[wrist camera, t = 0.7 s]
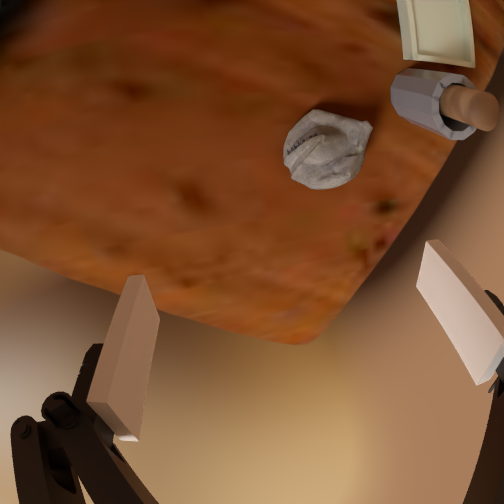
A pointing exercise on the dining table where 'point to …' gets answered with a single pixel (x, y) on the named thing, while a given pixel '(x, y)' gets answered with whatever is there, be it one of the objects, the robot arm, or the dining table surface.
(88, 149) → the dining table surface
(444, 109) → the walnut dowel
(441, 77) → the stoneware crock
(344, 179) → the fossil
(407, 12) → the sage tray
